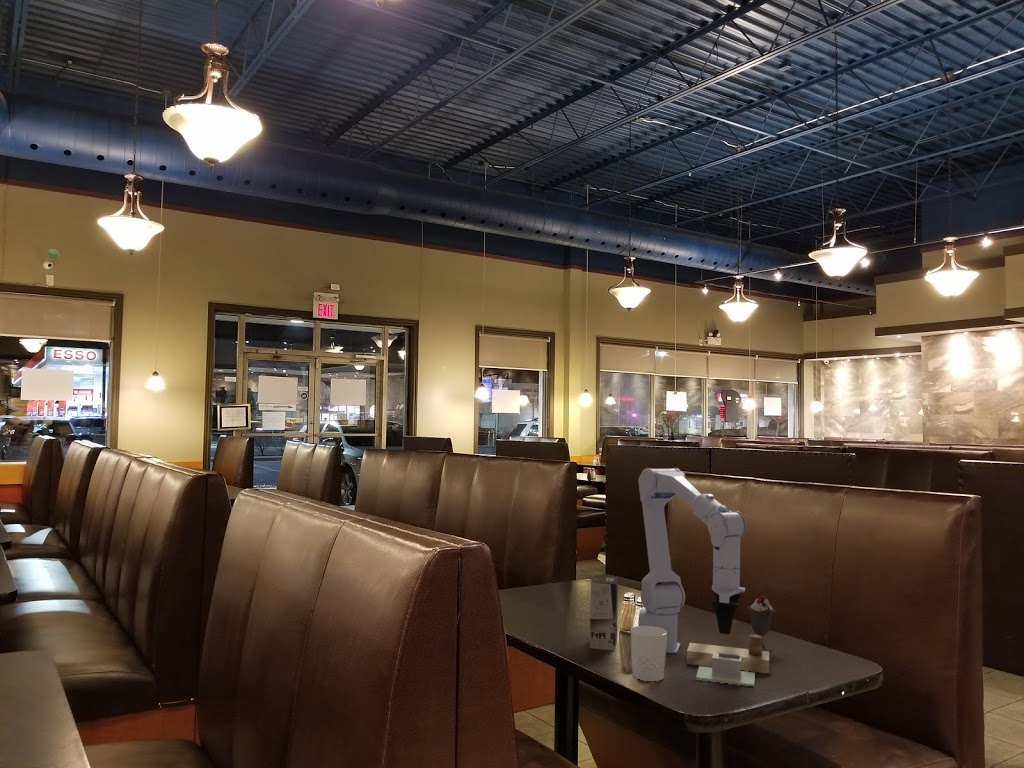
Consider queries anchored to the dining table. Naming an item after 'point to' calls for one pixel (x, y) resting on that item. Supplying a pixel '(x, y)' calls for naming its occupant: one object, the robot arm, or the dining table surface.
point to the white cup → (648, 652)
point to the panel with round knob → (750, 659)
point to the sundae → (761, 617)
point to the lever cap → (726, 665)
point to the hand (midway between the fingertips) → (725, 629)
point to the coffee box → (603, 613)
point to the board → (706, 675)
